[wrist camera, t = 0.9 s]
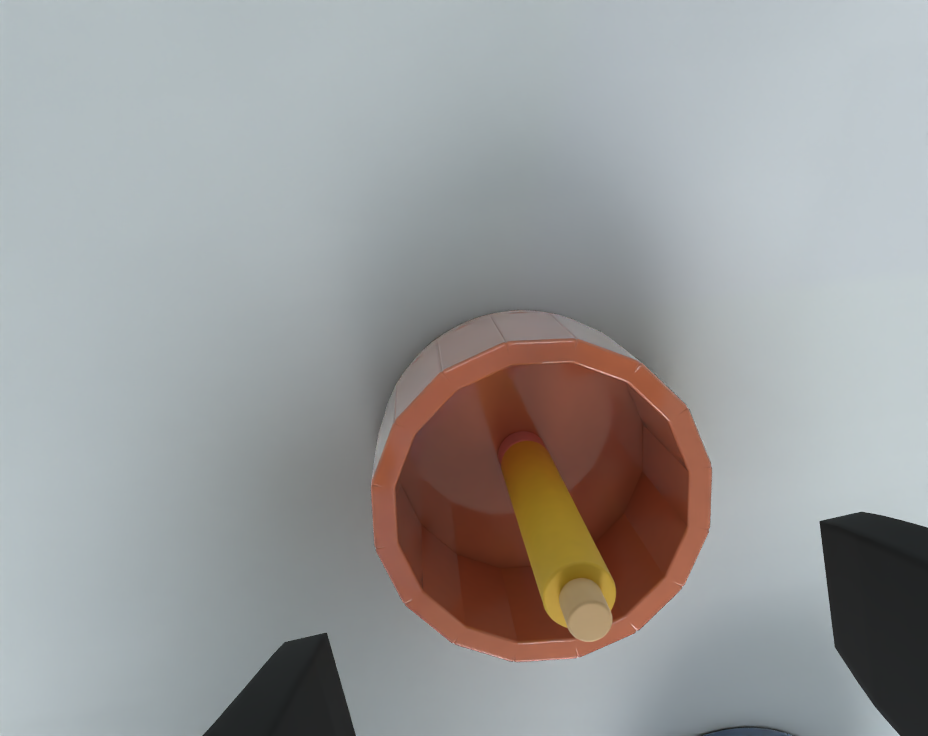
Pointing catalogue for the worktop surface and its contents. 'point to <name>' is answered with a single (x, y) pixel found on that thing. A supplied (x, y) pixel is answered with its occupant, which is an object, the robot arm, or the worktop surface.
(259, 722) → the robot arm
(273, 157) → the worktop surface
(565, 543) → the pencil
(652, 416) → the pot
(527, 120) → the worktop surface
